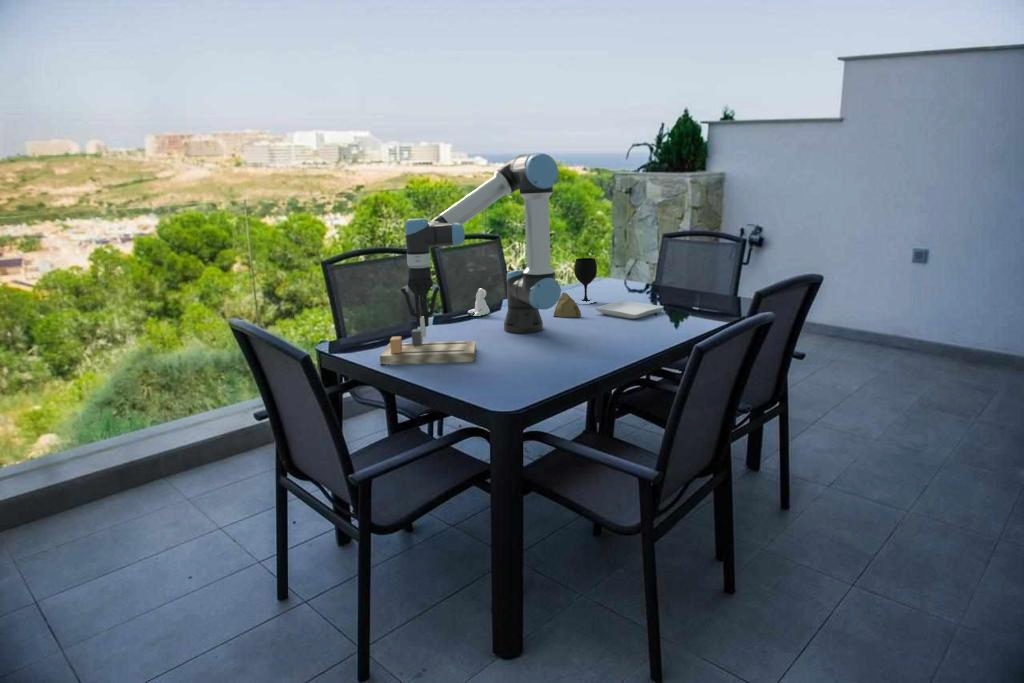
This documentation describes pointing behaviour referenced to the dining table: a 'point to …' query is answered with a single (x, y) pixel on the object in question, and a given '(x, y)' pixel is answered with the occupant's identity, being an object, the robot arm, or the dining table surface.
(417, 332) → the graphite fader
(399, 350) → the orange fader
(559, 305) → the rock
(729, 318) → the dining table surface
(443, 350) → the fader console
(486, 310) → the white creature statuette
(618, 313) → the salad plate
